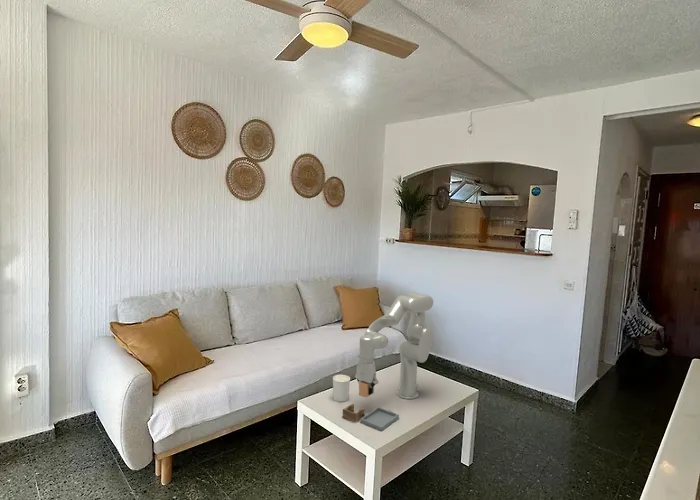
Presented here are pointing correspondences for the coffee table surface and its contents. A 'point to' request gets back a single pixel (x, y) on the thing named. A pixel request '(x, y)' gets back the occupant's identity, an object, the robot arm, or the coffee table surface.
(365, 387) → the peach slab with tab
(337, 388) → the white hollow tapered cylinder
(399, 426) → the coffee table surface
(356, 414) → the frame
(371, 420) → the tray
